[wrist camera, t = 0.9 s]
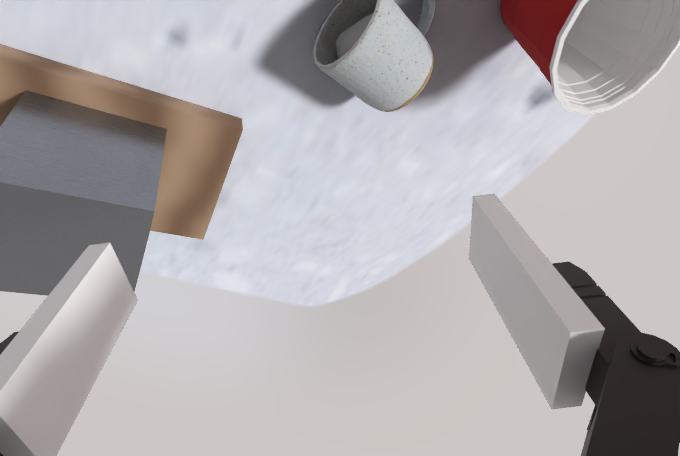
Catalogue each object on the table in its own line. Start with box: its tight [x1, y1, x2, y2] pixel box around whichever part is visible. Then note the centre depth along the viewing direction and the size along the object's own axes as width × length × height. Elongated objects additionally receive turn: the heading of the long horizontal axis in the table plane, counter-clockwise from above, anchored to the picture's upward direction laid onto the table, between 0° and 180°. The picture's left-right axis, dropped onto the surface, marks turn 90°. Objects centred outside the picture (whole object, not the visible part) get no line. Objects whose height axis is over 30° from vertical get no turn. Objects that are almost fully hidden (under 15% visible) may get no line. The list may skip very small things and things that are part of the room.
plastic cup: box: [500, 0, 680, 115], centre depth 33 cm, size 11×11×12 cm
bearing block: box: [0, 90, 167, 295], centre depth 33 cm, size 10×10×11 cm
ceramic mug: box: [313, 0, 435, 112], centre depth 33 cm, size 10×8×7 cm
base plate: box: [0, 44, 243, 239], centre depth 35 cm, size 32×14×2 cm, turn 63°
